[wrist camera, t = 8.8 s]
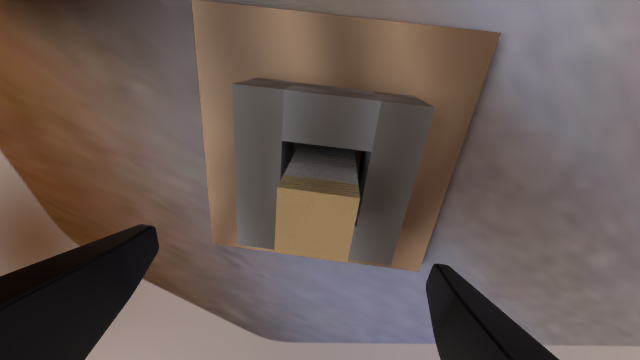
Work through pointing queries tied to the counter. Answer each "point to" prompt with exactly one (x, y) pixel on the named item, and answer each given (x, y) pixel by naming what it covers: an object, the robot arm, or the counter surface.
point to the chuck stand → (334, 117)
